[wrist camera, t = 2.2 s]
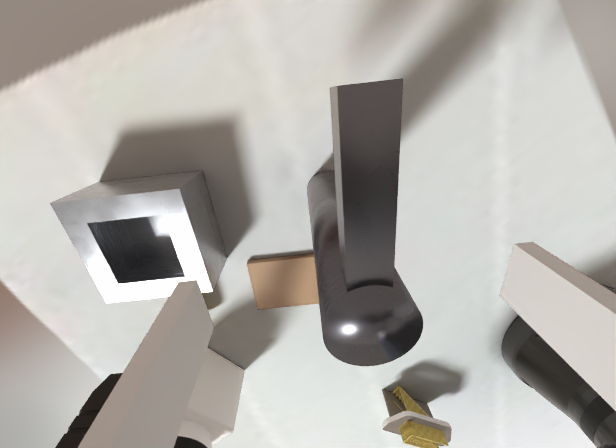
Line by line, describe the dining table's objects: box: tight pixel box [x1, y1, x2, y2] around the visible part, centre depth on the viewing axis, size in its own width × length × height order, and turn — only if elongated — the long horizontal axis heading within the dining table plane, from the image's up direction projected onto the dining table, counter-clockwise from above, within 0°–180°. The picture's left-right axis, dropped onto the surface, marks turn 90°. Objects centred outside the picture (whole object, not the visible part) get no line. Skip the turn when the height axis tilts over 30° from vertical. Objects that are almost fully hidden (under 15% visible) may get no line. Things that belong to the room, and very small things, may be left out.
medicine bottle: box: [174, 347, 244, 448], centre depth 28 cm, size 7×7×12 cm
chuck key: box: [307, 79, 423, 366], centre depth 15 cm, size 10×4×16 cm, turn 6°
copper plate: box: [247, 254, 319, 310], centre depth 28 cm, size 7×6×1 cm
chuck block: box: [50, 171, 227, 303], centre depth 24 cm, size 9×16×5 cm, turn 6°
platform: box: [382, 386, 451, 448], centre depth 35 cm, size 12×18×7 cm, turn 62°
